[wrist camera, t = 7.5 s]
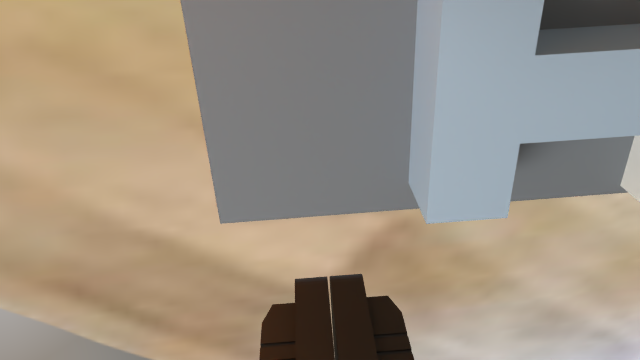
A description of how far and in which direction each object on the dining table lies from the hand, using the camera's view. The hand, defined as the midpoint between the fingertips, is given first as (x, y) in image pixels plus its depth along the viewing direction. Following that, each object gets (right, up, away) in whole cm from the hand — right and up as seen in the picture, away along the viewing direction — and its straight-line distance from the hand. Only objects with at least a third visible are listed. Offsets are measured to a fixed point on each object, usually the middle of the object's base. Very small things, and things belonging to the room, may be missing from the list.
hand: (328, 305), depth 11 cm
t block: (+10, +8, +14) cm, 19 cm away
